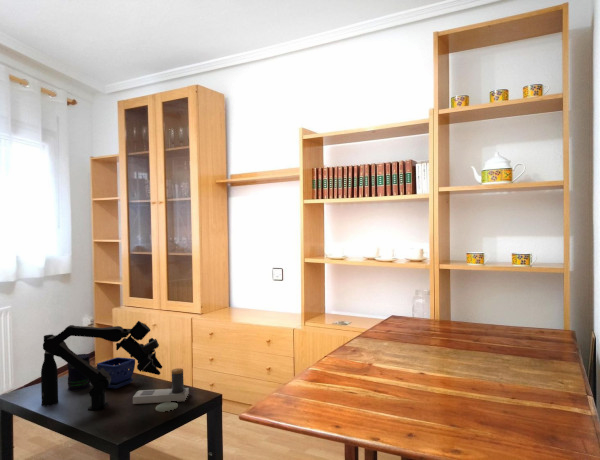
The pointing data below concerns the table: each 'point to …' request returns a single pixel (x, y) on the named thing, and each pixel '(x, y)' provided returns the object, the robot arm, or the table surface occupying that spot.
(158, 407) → the rubber mat
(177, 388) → the plug
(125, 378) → the flower pot
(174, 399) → the power strip
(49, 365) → the wine bottle
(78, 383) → the storage jar
